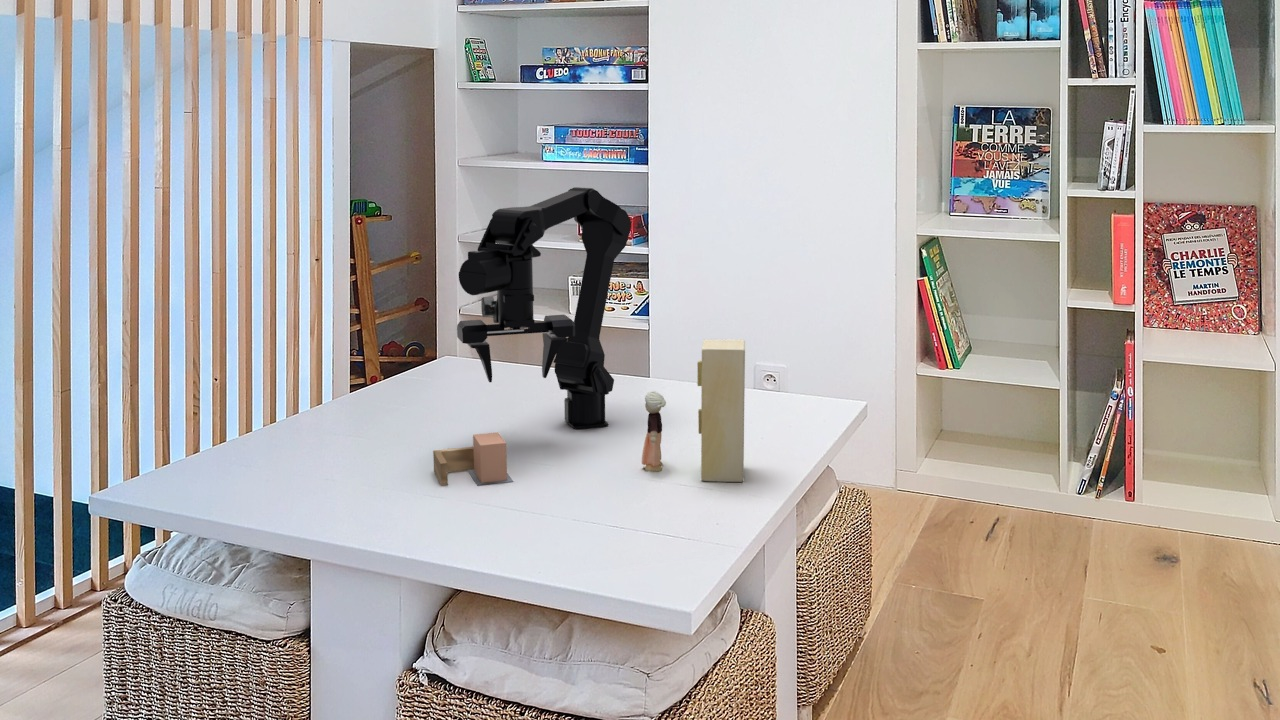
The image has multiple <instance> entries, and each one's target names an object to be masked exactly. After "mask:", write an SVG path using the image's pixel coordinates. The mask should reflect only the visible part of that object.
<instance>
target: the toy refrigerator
mask: <svg viewBox="0 0 1280 720" xmlns="http://www.w3.org/2000/svg"><path fill="white" fill-rule="evenodd" d="M745 372H746V340H745V339H738V338H737V339H733V338H732V339H727V338H725V339H723V338H720V339H719V338H718V339H717V338H714V339H713V338H705V339H703V341H702V347H701V360H698V361H697V383H696V384H697V387H701V405H700V406H701V408H698V410H697V411H698V412H697V413H698V422H697V423H698V434H699V435H700V434H701V435H700V437H701V439H700V441H701V442H700V443H701V444H700V445H701V448H700V449H701V453H700V455H701V458H700V459H701V461H700V463H701V466H700V469H701V470H700V479H701V481H702V482H727V483H729V482H730V483H734V482H735V483H742V482H744V471H745V470H744V465H745V463H744V461H745V460H744V458H745V396H746V395H745V390H746V389H745V388H746V387H745V386H746V383H745V379H746V377H745V376H746V375H745V374H746V373H745Z"/></svg>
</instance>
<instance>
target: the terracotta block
mask: <svg viewBox="0 0 1280 720" xmlns="http://www.w3.org/2000/svg"><path fill="white" fill-rule="evenodd" d="M472 443H473V445H472V447H473V451H474V472H475V473H476V475H477V476H478V478H479V479H480V481H481V483H485V482H494V481H503V480H507V473H508V461H507V459H508V458H507V457H508V456H507V453H508V452H507V442H506V441H505V439H504V438H503V437H502V435H501V434H500V433H499V431H498V432H489V433H477V434H476V433H475V434H472Z"/></svg>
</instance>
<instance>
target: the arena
mask: <svg viewBox="0 0 1280 720" xmlns="http://www.w3.org/2000/svg"><path fill="white" fill-rule="evenodd" d="M432 456H433V472H434V474H435V476H436V478H437V480H438V482H439V483H440V486H448V485H449V484H448V483H449V481H448V480H449V479H448V473H454V472H464V471H468V473H469V475H470V476H471V478H472V479H473V481H474V482H475V484H476V486H478V487H479V486H486V485H487V486H489V485H496V484H505V483H506V484H507V483H513V482H514V480H513V479H512V477H511V475H509V473H508V472H507V480H503V481H494V482H485V483H481V481H480V479H479V478H478V476H477V475H476V473H475V472H474V451H473V446H467V447H466V446H465V447H457V448H447V449H444V448H443V449H435V450H433V451H432Z"/></svg>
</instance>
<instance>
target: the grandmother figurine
mask: <svg viewBox="0 0 1280 720" xmlns="http://www.w3.org/2000/svg"><path fill="white" fill-rule="evenodd" d="M644 397H645V398H644V401H645V404H644V407H645V410H646V411H647V413H648V416H647V430H646V431H647V432H646V435H645V439H644V443H643V449H642V454H641V455H642V456H641V465H642V466H643V465H644V466H645V468H644V471H645V472H649V473H650V472H653V473H654V472H661V471H663V462H662V461H661V460H662V449H661V447H662V446H661V444H662V433H663V432H662V431H663V421H662V415H661V413H660V411H661V409H662V408H664V407H666V404H667V402H666V400H665V398H664V396H663V395H662V394H661V393H659V392H658V391H656V390H650V391H649V392H647V393H646V394H645V395H644Z"/></svg>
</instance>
